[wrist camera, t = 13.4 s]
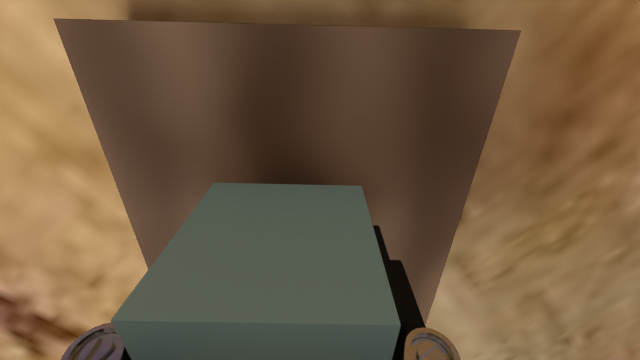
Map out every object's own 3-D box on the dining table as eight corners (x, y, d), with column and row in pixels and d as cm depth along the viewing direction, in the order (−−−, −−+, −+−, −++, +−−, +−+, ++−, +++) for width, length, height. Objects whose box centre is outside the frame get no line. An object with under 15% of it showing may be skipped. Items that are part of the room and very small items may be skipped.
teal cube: (361, 185, 10) (401, 324, 5) (350, 288, 13) (369, 446, 8) (213, 182, 10) (110, 320, 5) (232, 286, 12) (176, 444, 8)
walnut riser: (465, 33, 13) (521, 30, 9) (407, 274, 20) (425, 324, 17) (128, 24, 13) (53, 18, 9) (194, 270, 20) (167, 320, 17)
